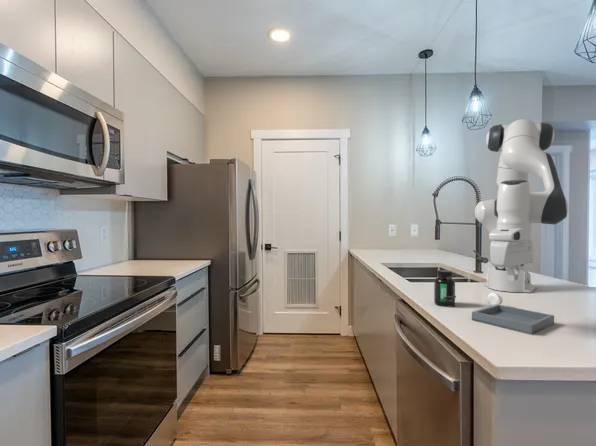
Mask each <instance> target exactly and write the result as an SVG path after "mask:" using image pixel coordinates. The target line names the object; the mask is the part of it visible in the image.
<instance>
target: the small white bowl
mask: <svg viewBox="0 0 596 446" xmlns="http://www.w3.org/2000/svg"><path fill="white" fill-rule="evenodd" d="M486 297H487V303H488V304H489V307H490V306H493V305H496V304H498V305H502V304H503V301H504V300H503V297H502V296H501V295H500V294H497V293H495V292H490V293H488V295H487V296H486Z"/></svg>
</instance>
